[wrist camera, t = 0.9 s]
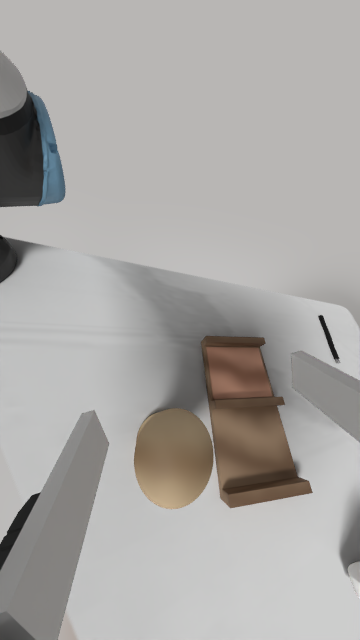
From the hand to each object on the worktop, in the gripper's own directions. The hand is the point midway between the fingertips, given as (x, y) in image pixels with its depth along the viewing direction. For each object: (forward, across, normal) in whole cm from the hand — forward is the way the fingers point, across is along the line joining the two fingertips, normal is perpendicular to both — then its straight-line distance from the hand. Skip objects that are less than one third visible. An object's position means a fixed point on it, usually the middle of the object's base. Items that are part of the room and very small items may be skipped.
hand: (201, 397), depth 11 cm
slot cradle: (+14, +8, -16) cm, 23 cm away
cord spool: (+11, -6, -15) cm, 19 cm away
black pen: (+25, +35, -15) cm, 46 cm away
